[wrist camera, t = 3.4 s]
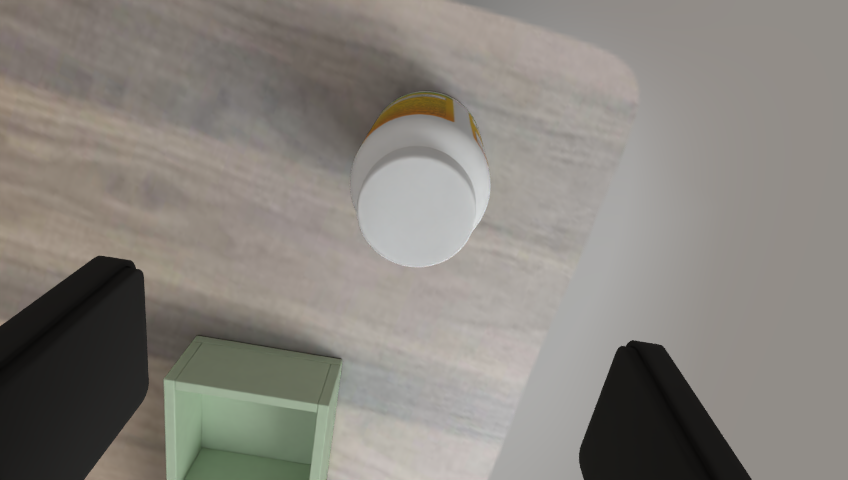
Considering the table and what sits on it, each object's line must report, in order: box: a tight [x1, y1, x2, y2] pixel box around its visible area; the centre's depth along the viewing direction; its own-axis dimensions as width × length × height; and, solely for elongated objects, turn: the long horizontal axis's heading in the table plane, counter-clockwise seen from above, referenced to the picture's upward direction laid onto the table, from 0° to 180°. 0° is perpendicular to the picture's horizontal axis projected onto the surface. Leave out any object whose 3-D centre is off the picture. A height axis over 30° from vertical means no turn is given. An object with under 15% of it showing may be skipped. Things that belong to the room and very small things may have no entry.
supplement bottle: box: [350, 91, 491, 267], centre depth 22 cm, size 5×5×10 cm
